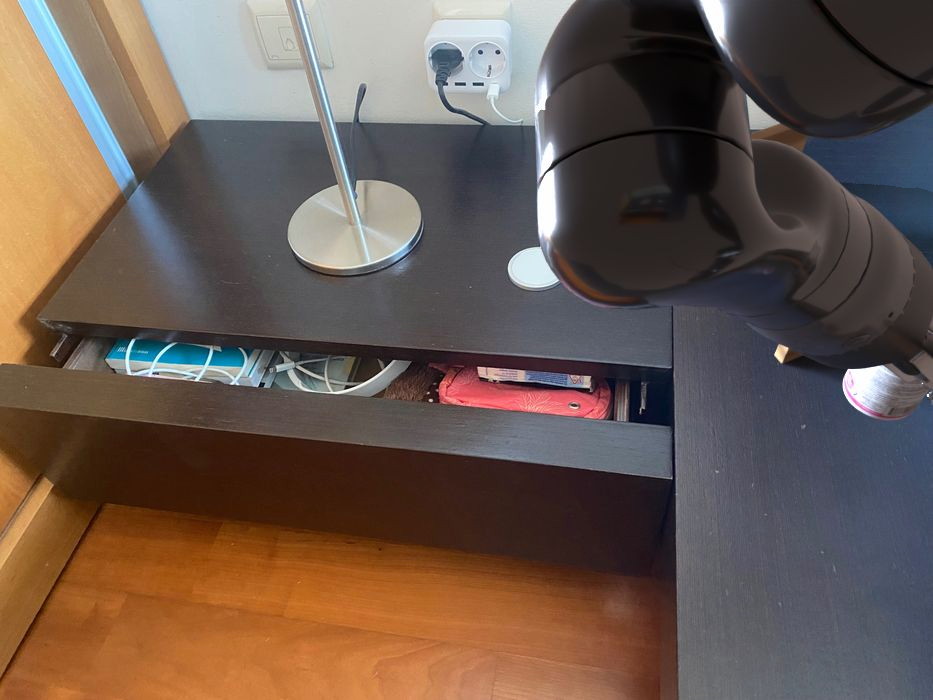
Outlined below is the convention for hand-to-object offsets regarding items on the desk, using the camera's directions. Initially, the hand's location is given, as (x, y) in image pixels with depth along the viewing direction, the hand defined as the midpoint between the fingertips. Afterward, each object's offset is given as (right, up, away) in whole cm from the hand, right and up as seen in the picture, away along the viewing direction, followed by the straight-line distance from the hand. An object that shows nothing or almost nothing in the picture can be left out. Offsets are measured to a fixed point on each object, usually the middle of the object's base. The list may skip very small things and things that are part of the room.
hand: (924, 346), depth 47 cm
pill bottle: (-1, -3, +3) cm, 5 cm away
